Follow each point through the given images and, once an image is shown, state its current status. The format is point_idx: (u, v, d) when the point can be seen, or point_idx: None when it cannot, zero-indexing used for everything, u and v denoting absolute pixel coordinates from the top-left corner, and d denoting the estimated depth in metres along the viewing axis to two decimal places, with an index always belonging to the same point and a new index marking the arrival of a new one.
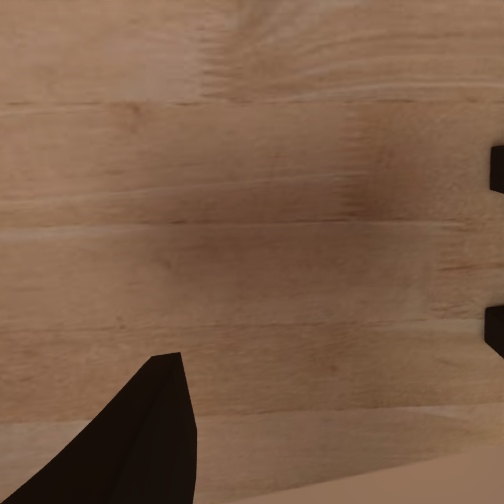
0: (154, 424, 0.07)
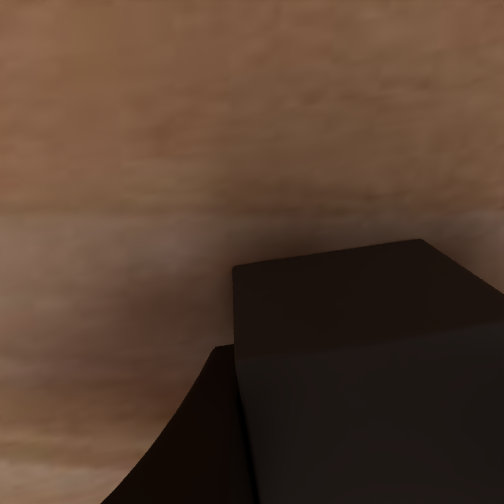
0: (239, 411, 0.07)
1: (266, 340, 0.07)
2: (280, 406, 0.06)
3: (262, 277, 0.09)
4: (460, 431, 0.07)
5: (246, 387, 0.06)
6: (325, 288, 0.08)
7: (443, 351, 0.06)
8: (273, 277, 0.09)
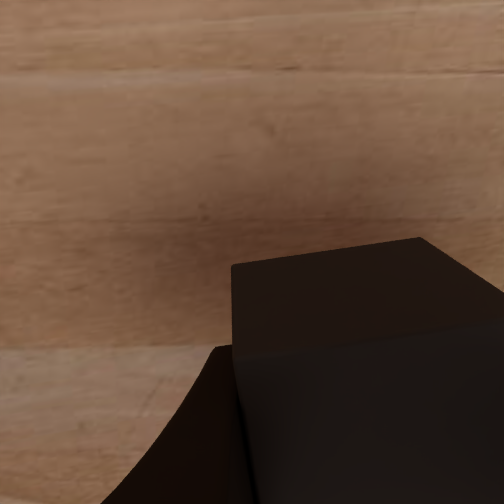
0: (239, 411, 0.07)
1: (264, 338, 0.07)
2: (278, 404, 0.06)
3: (260, 275, 0.09)
4: (459, 428, 0.07)
5: (244, 384, 0.06)
6: (324, 286, 0.08)
7: (440, 348, 0.06)
8: (272, 275, 0.09)
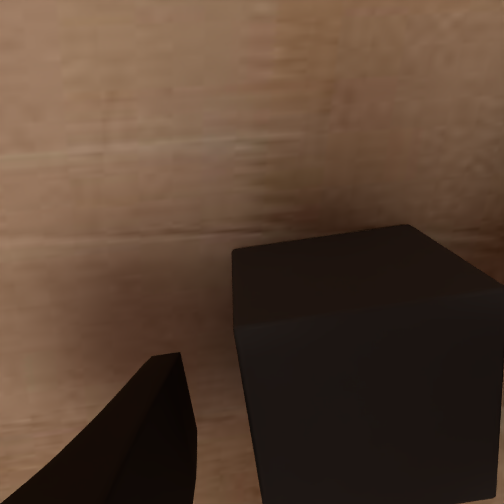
0: (154, 424, 0.07)
1: (262, 310, 0.07)
2: (275, 369, 0.07)
3: (259, 258, 0.10)
4: (439, 393, 0.07)
5: (244, 351, 0.07)
6: (317, 266, 0.09)
7: (421, 318, 0.07)
8: (269, 258, 0.10)
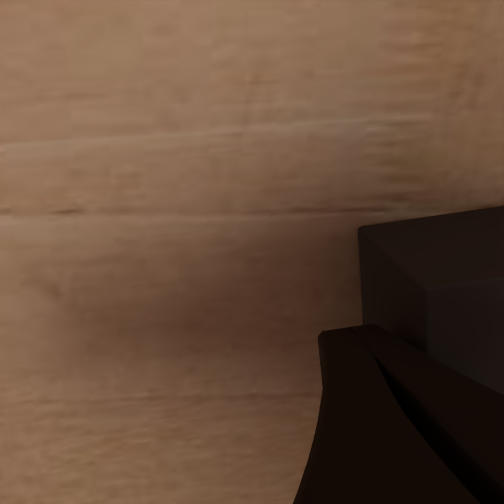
0: None
1: (441, 274, 0.08)
2: (456, 328, 0.08)
3: (395, 233, 0.10)
4: None
5: (431, 310, 0.07)
6: (464, 239, 0.09)
7: None
8: (406, 233, 0.10)
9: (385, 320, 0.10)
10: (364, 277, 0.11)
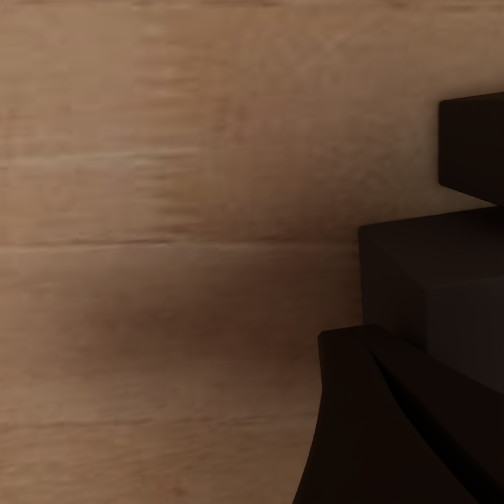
0: None
1: (441, 274, 0.08)
2: (456, 328, 0.08)
3: (396, 233, 0.10)
4: None
5: (431, 310, 0.07)
6: (464, 238, 0.09)
7: None
8: (406, 232, 0.10)
9: (385, 319, 0.10)
10: (364, 276, 0.11)
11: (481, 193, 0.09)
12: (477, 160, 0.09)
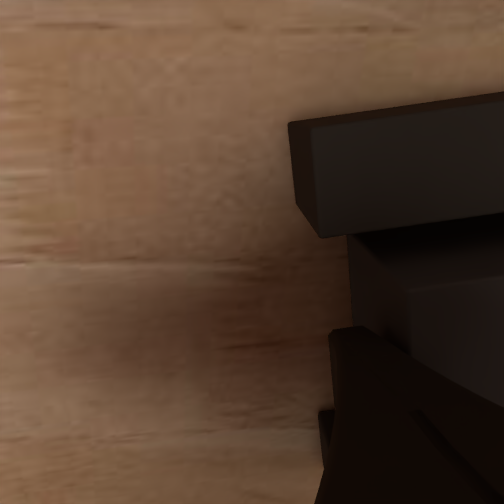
0: None
1: (425, 275, 0.08)
2: (440, 330, 0.08)
3: (383, 234, 0.10)
4: None
5: (414, 312, 0.07)
6: (451, 240, 0.09)
7: None
8: (394, 234, 0.10)
9: (372, 321, 0.10)
10: (353, 278, 0.11)
11: (308, 218, 0.09)
12: (304, 185, 0.09)
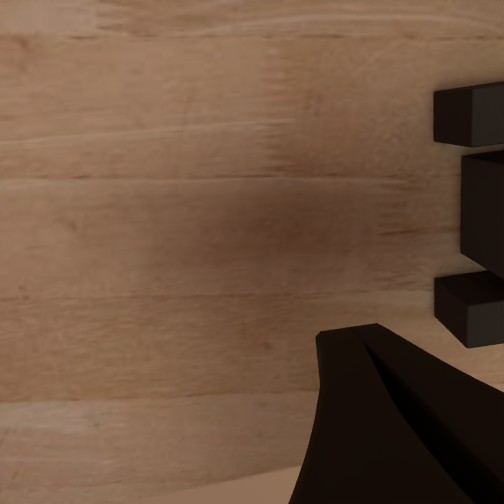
0: None
1: None
2: None
3: (489, 156, 0.18)
4: None
5: None
6: None
7: None
8: (496, 155, 0.17)
9: (485, 203, 0.17)
10: (466, 185, 0.18)
11: (456, 141, 0.16)
12: (454, 123, 0.16)
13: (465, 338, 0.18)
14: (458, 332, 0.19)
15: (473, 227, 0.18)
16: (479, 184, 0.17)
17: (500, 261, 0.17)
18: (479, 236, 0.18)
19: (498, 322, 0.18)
